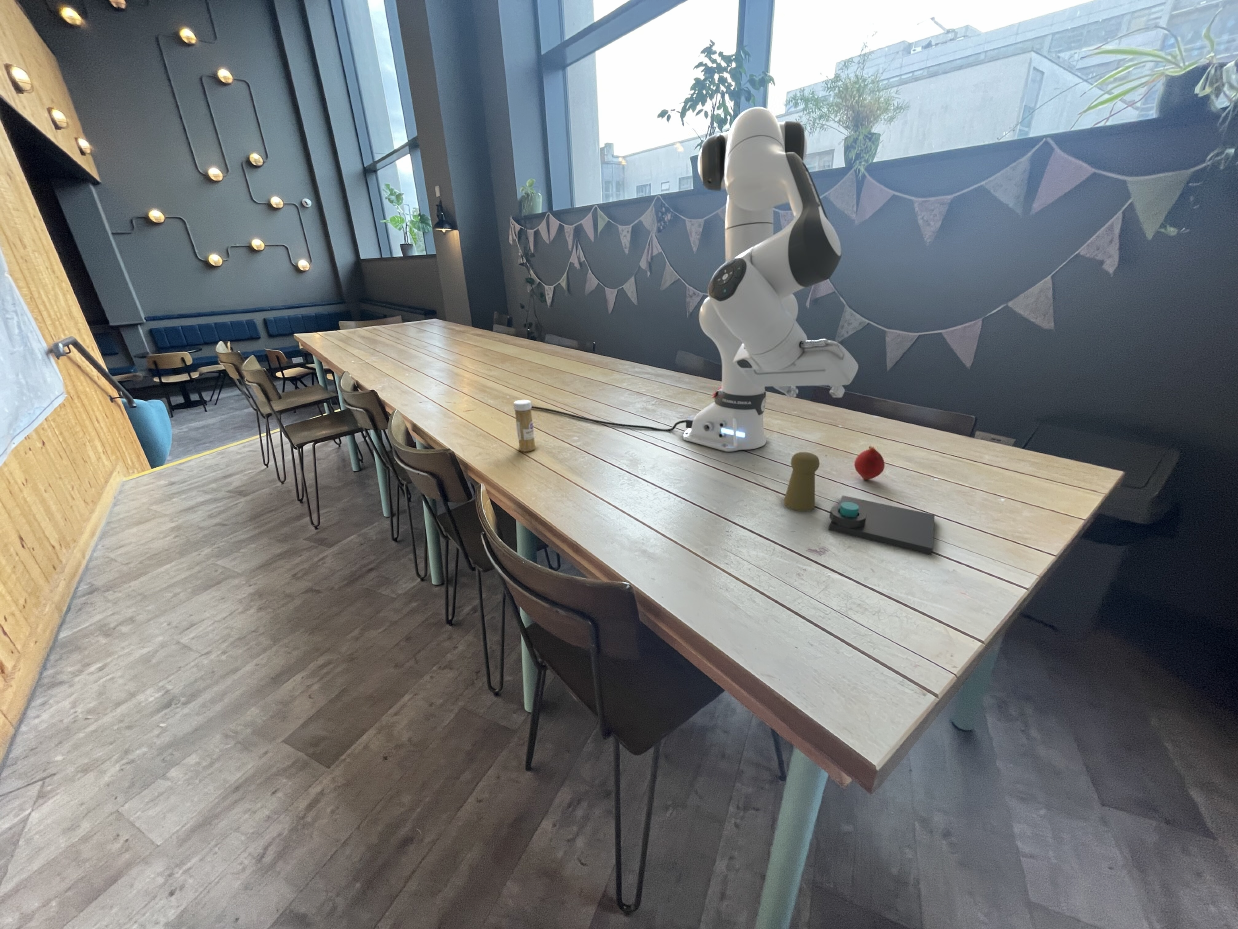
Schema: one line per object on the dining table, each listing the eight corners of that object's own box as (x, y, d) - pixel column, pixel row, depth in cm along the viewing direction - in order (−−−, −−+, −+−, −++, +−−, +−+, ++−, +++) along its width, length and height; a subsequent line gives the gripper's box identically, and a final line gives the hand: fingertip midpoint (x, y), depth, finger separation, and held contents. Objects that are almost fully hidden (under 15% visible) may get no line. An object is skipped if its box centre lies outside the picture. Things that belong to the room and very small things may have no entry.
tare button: (837, 515, 86) (839, 507, 85) (840, 508, 88) (842, 500, 87) (855, 519, 84) (857, 511, 84) (858, 512, 87) (860, 504, 86)
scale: (825, 529, 86) (828, 515, 85) (838, 500, 96) (841, 487, 95) (930, 555, 78) (935, 540, 77) (932, 521, 88) (936, 507, 87)
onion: (878, 475, 106) (885, 442, 103) (882, 486, 102) (890, 452, 98) (850, 472, 108) (856, 440, 105) (853, 483, 103) (859, 449, 100)
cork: (817, 512, 92) (825, 461, 88) (785, 510, 93) (791, 459, 89) (812, 498, 98) (819, 449, 93) (781, 496, 99) (787, 448, 94)
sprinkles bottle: (533, 452, 126) (528, 403, 121) (517, 452, 126) (511, 404, 121) (537, 445, 130) (532, 398, 125) (521, 446, 131) (515, 399, 125)
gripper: (843, 322, 71) (878, 379, 78) (741, 336, 88) (778, 382, 95) (825, 355, 70) (863, 409, 77) (725, 363, 87) (764, 407, 94)
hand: (815, 394), depth 86 cm, fingers open, 8 cm apart
